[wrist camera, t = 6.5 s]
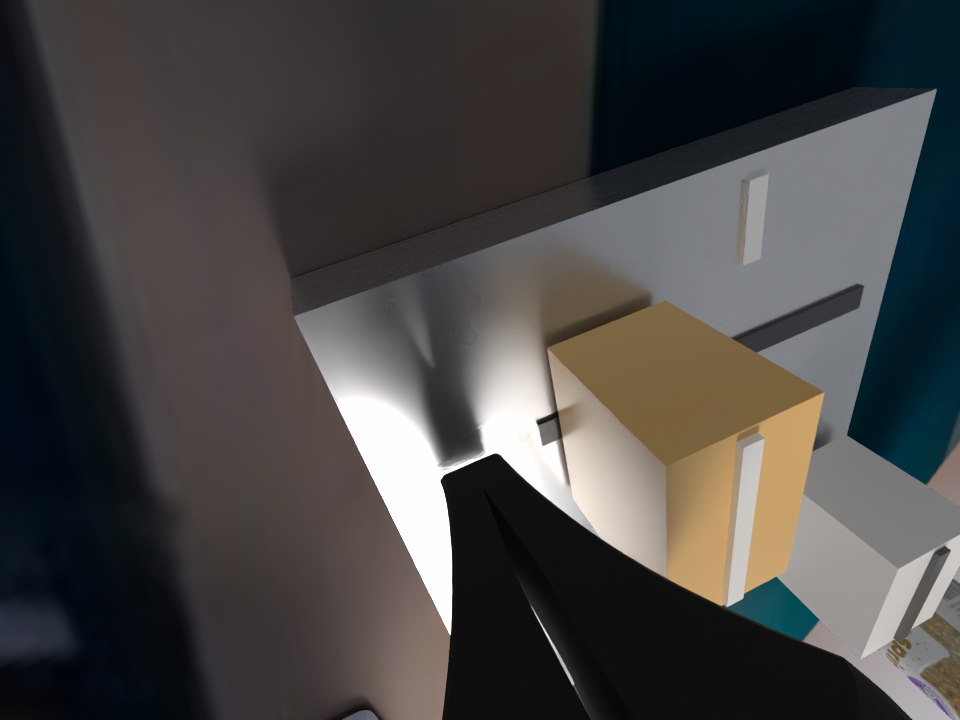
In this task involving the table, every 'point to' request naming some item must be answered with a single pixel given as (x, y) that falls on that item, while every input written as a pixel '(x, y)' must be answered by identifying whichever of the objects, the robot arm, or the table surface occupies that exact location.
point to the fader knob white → (870, 547)
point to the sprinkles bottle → (934, 654)
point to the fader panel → (613, 295)
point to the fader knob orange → (685, 448)
